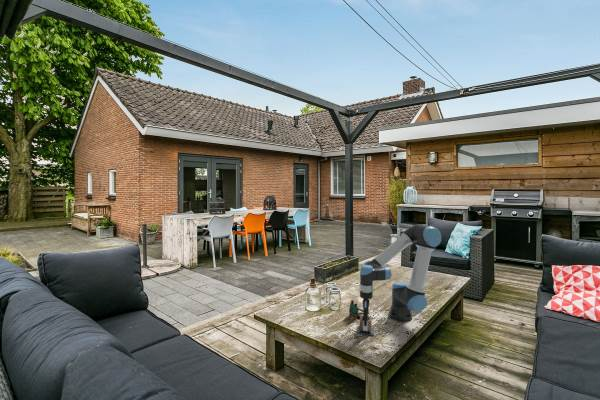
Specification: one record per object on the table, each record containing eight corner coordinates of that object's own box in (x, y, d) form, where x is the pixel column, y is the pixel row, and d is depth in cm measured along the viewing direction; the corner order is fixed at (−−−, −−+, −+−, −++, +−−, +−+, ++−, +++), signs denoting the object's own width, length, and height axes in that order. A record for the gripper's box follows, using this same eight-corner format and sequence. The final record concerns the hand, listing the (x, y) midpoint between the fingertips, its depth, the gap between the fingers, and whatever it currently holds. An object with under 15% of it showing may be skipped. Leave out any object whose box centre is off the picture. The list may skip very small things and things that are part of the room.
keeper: (374, 329, 191) (374, 309, 190) (373, 336, 182) (374, 316, 181) (357, 327, 193) (358, 308, 193) (356, 333, 185) (357, 314, 184)
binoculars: (367, 304, 205) (354, 304, 202) (365, 319, 206) (352, 320, 202) (360, 299, 214) (347, 299, 210) (358, 313, 214) (346, 314, 211)
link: (371, 326, 190) (371, 316, 190) (371, 331, 183) (371, 321, 183) (360, 324, 192) (360, 315, 192) (359, 329, 185) (359, 320, 185)
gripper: (361, 284, 197) (360, 319, 198) (358, 296, 178) (358, 334, 179) (372, 285, 195) (372, 321, 196) (372, 297, 176) (371, 336, 177)
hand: (365, 327), depth 188 cm, fingers closed on link, 7 cm apart
